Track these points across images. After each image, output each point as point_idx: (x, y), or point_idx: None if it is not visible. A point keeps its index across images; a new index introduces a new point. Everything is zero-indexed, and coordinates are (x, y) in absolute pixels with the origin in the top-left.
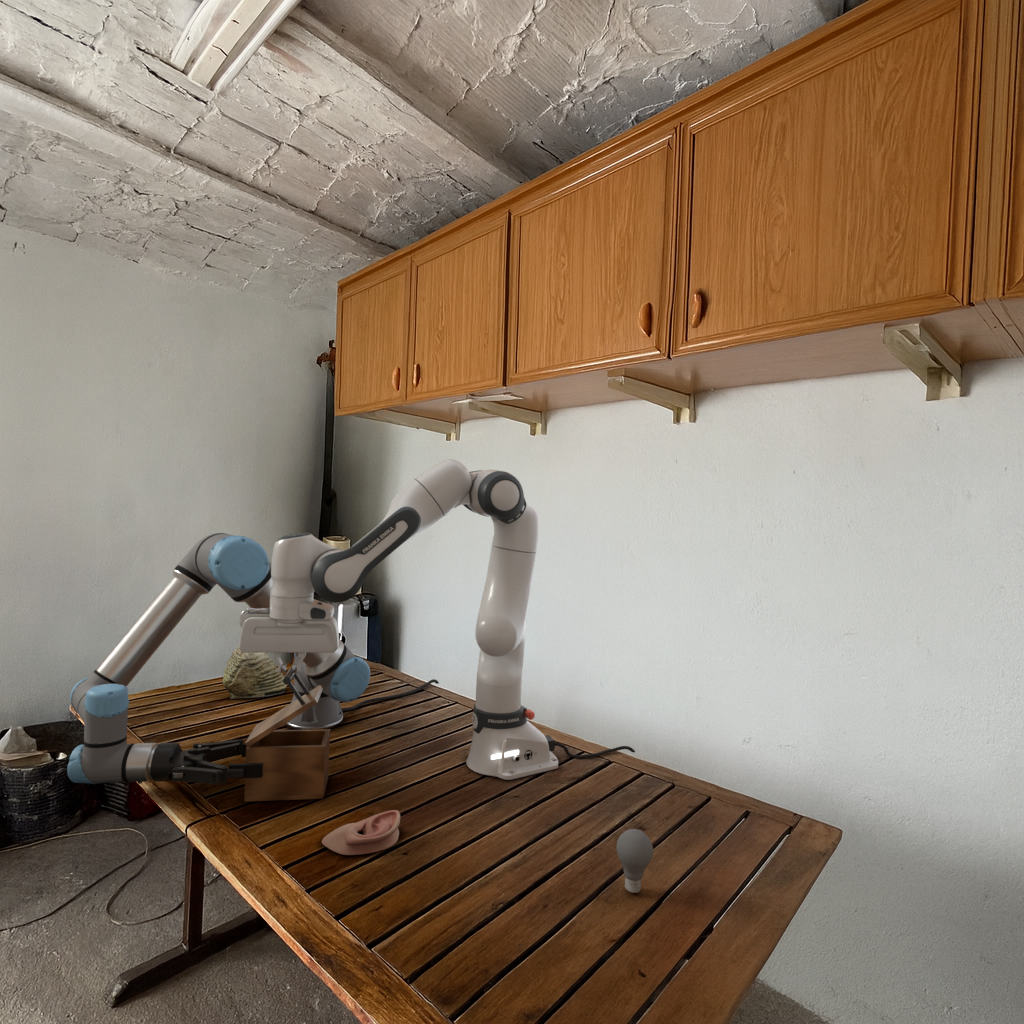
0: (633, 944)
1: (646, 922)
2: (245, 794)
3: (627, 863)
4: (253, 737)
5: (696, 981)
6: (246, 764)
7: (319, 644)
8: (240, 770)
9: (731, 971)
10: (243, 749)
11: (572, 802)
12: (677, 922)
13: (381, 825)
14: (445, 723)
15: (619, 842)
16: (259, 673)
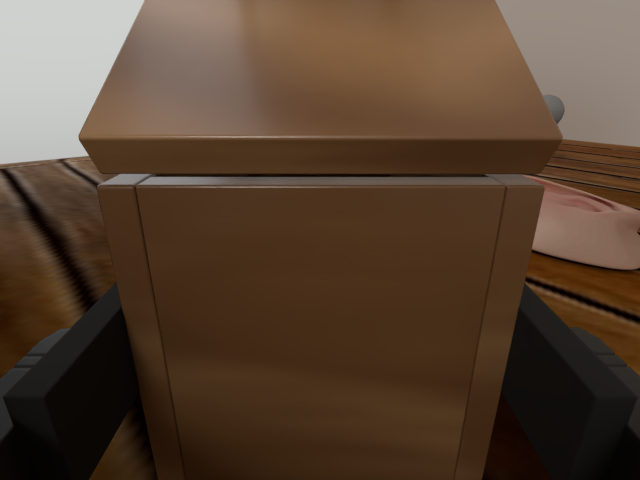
0: (615, 155)
1: (578, 151)
2: (480, 478)
3: (560, 119)
4: (532, 78)
5: (634, 149)
6: (531, 301)
7: None
8: (599, 340)
9: (609, 145)
10: (70, 423)
11: None
12: (567, 147)
13: (554, 197)
14: (34, 183)
15: (554, 106)
16: None
